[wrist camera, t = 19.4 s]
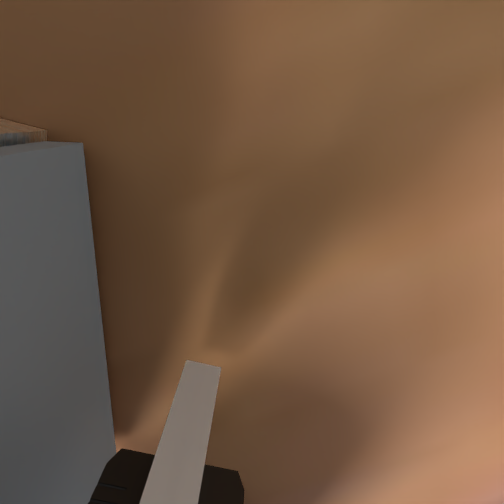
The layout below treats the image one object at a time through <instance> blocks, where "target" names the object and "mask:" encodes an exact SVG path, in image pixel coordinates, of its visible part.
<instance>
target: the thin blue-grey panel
mask: <svg viewBox="0 0 504 504" xmlns="http://www.w3.org/2000/svg"><path fill="white" fill-rule="evenodd" d="M115 454H116V445H115V436H114V427H113V418H112V408H111V399H110V390H109V380H108V371H107V362H106V352H105V343H104V334H103V325H102V315H101V306H100V297H99V287H98V278H97V269H96V260H95V250H94V241H93V232H92V222H91V213H90V204H89V195H88V185H87V176H86V167H85V157H84V148H83V143H77V142H55V141H42V142H34V143H26V144H18V145H10V146H2V147H0V504H88V502H89V501H90V498H91V496H92V494H93V492H94V489H95V487H96V486H97V484H98V481H99V479H100V476H101V474H102V472H103V470H104V468H105V466H106V463H107V462H108V461H109V460H110V459H111V458H112V457H113V456H114V455H115Z"/></svg>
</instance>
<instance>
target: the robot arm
mask: <svg viewBox="0 0 504 504" xmlns="http://www.w3.org/2000/svg"><path fill="white" fill-rule="evenodd" d="M220 372H221V367H217V366H213V365H208V364H204V363H199V362H195V361H190V360H186V362H185V365H184V368H183V371H182V375H181V378H180V381H179V384H178V387H177V390H176V393H175V396H174V399H173V402H172V405H171V408H170V411H169V414H168V417H167V420H166V424H165V427H164V430H163V433H162V436H161V439H160V442H159V445H158V448H157V451H156V454H155V455H151V454H146V453H142V452H137V451H132V450H127V449H121V450H119V451H118V452H117V453H116V454H115V455H114V456H113V457H112V458H111V459H110V460H109V461H108V462H107V463H106V466H105V468H104V470H103V472H102V474H101V476H100V479H99V481H98V484H97V486H96V487H95V489H94V492H93V494H92V496H91V498H90V501H89V502H88V504H244V488H243V485H242V482H241V479H240V476H239V473H238V471H234V470H229V469H224V468H219V467H214V466H210V465H205V459H206V453H207V447H208V442H209V436H210V430H211V424H212V418H213V413H214V407H215V401H216V395H217V390H218V384H219V378H220Z"/></svg>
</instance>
